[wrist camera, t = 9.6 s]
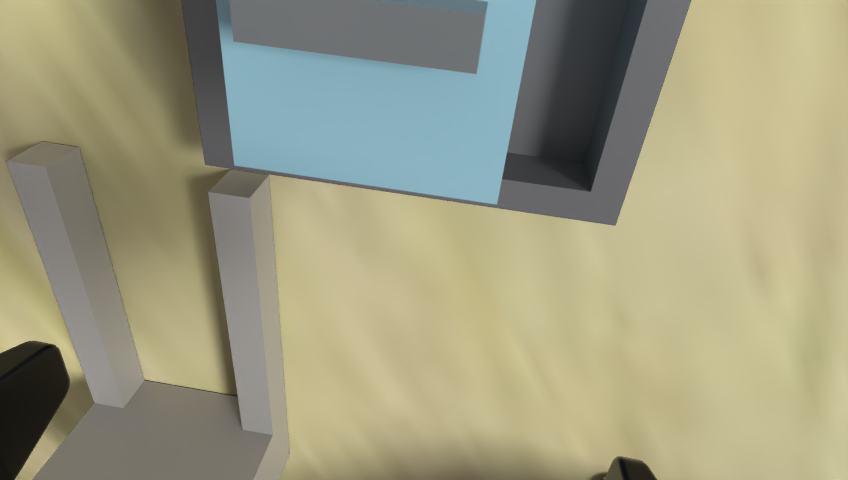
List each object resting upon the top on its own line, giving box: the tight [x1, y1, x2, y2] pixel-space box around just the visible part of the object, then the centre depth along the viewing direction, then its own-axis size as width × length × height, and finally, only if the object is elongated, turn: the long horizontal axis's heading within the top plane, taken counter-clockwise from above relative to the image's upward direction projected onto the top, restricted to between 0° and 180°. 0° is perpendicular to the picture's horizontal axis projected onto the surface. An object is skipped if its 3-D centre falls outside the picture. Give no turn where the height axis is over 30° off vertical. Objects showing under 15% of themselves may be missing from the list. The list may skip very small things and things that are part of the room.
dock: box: [6, 142, 290, 480], centre depth 23 cm, size 9×18×7 cm, turn 175°
